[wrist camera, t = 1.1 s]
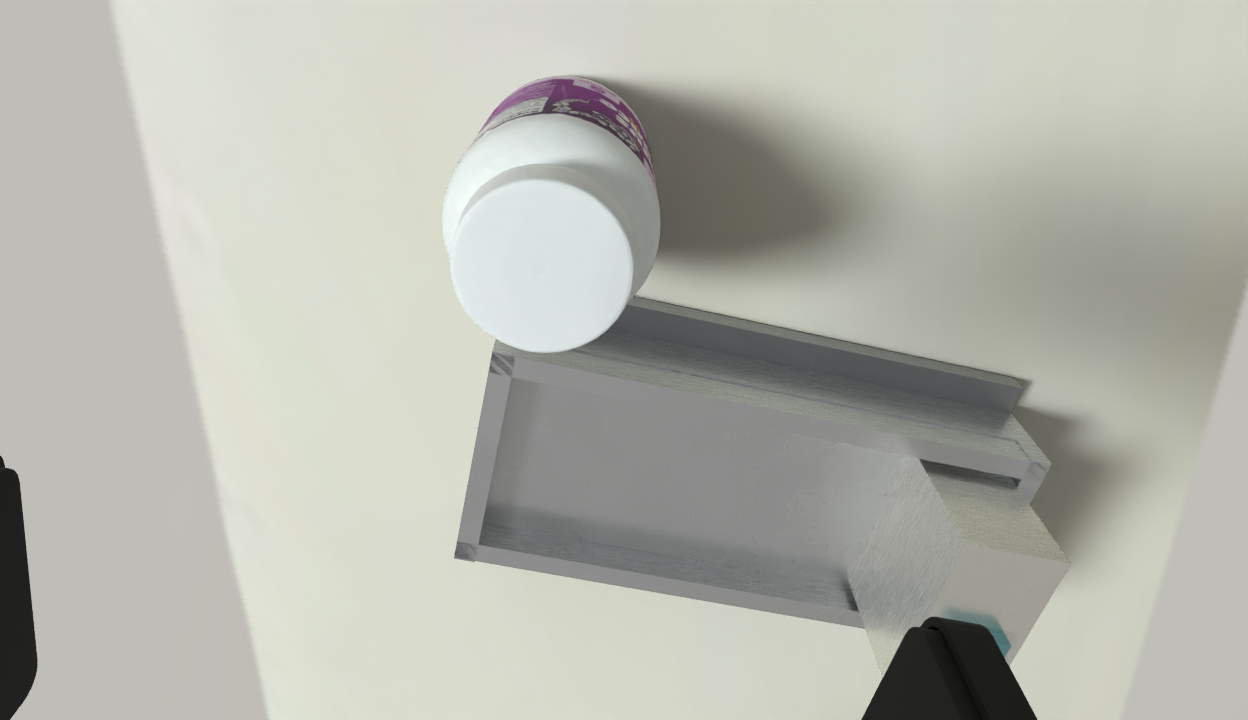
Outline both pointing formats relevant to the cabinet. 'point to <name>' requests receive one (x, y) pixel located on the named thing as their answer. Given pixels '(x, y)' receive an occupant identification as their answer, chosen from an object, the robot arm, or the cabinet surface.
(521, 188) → the pill bottle
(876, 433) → the grey tray
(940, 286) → the cabinet surface
